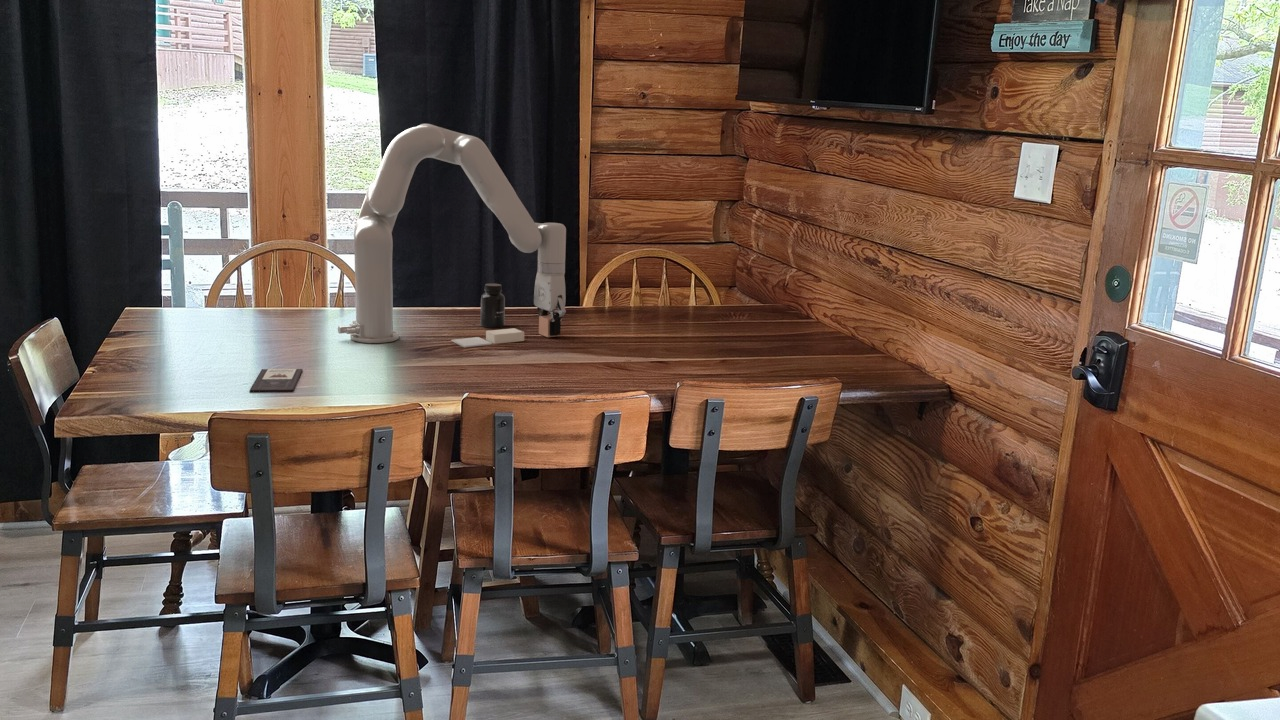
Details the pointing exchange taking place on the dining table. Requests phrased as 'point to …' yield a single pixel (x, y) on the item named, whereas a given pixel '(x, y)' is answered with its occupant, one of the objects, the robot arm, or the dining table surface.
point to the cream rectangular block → (505, 335)
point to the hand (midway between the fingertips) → (549, 332)
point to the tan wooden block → (545, 325)
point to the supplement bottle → (492, 306)
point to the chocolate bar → (276, 380)
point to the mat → (471, 342)
